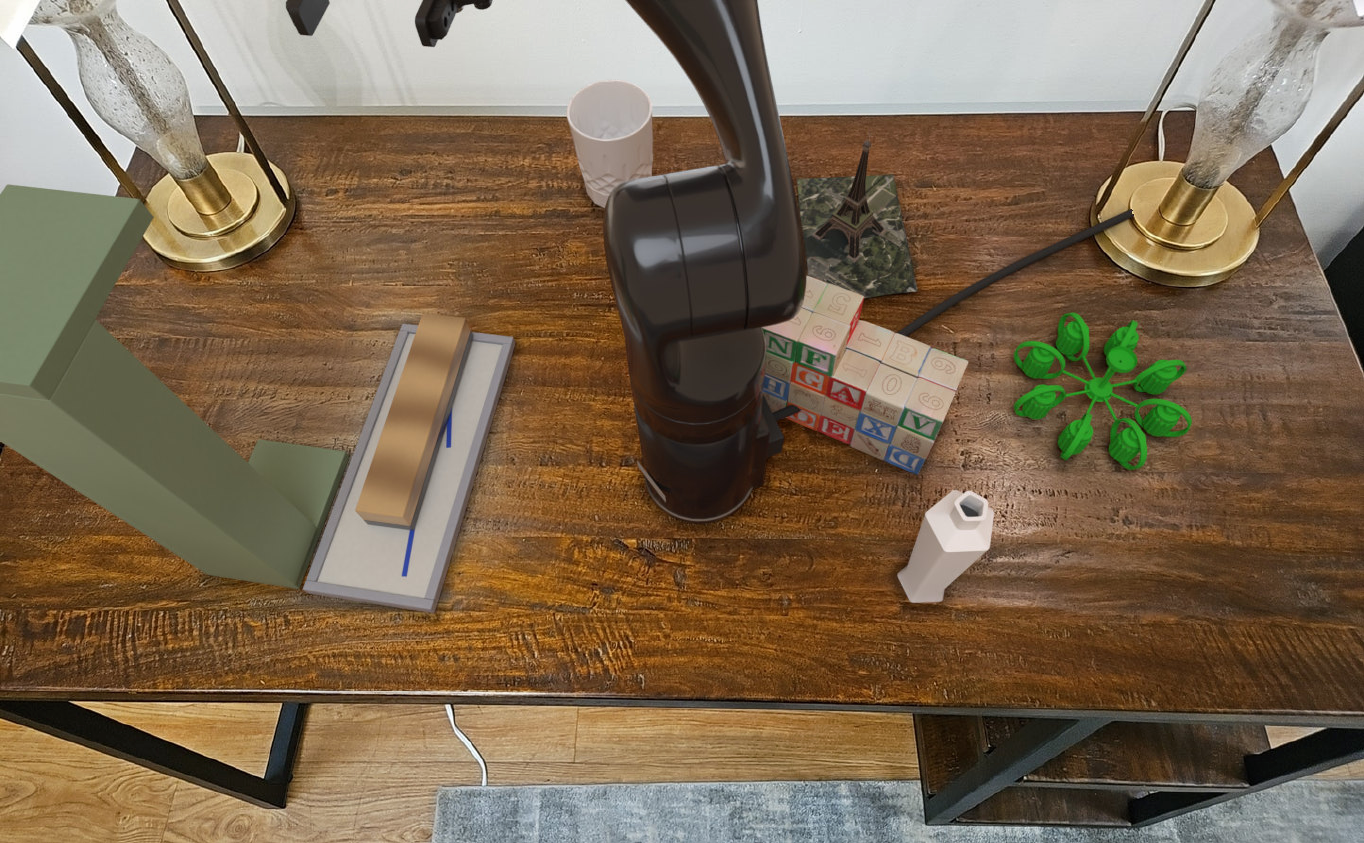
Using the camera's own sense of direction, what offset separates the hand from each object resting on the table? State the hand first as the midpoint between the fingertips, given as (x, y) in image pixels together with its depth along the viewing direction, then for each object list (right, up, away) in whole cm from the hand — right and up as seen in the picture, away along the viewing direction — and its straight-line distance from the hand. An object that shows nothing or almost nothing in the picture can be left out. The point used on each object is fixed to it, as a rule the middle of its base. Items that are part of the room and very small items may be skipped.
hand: (361, 30), depth 58 cm
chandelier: (+56, -24, +20) cm, 64 cm away
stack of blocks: (+33, -23, +21) cm, 45 cm away
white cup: (+14, -2, +33) cm, 36 cm away
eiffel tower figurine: (+38, -8, +29) cm, 48 cm away
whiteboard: (-2, -29, +19) cm, 34 cm away
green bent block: (-13, -33, +17) cm, 39 cm away
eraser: (-1, -26, +19) cm, 32 cm away
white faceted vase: (+40, -38, +12) cm, 56 cm away
